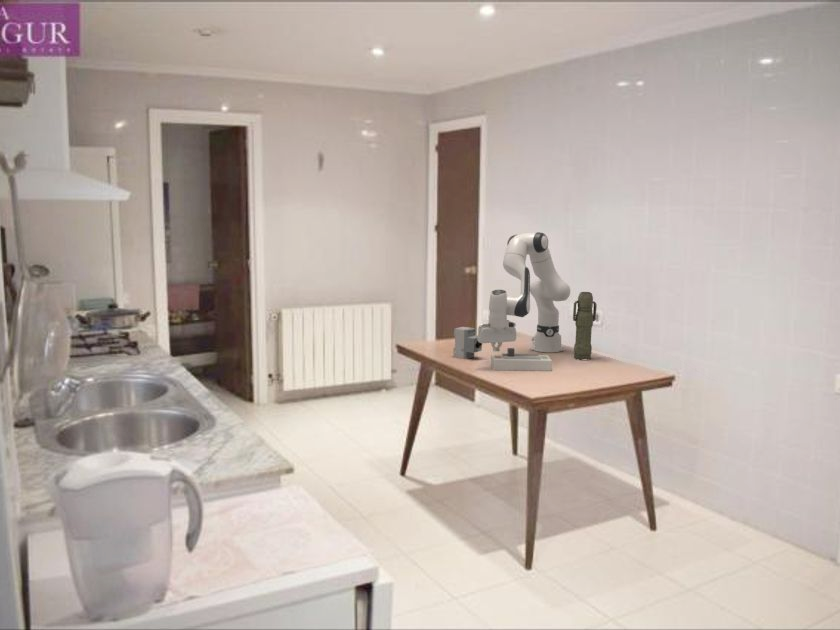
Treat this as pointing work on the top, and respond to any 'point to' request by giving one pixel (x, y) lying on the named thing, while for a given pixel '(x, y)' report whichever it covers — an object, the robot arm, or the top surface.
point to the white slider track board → (521, 362)
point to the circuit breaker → (466, 343)
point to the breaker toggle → (510, 352)
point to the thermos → (584, 325)
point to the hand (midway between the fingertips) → (496, 351)
